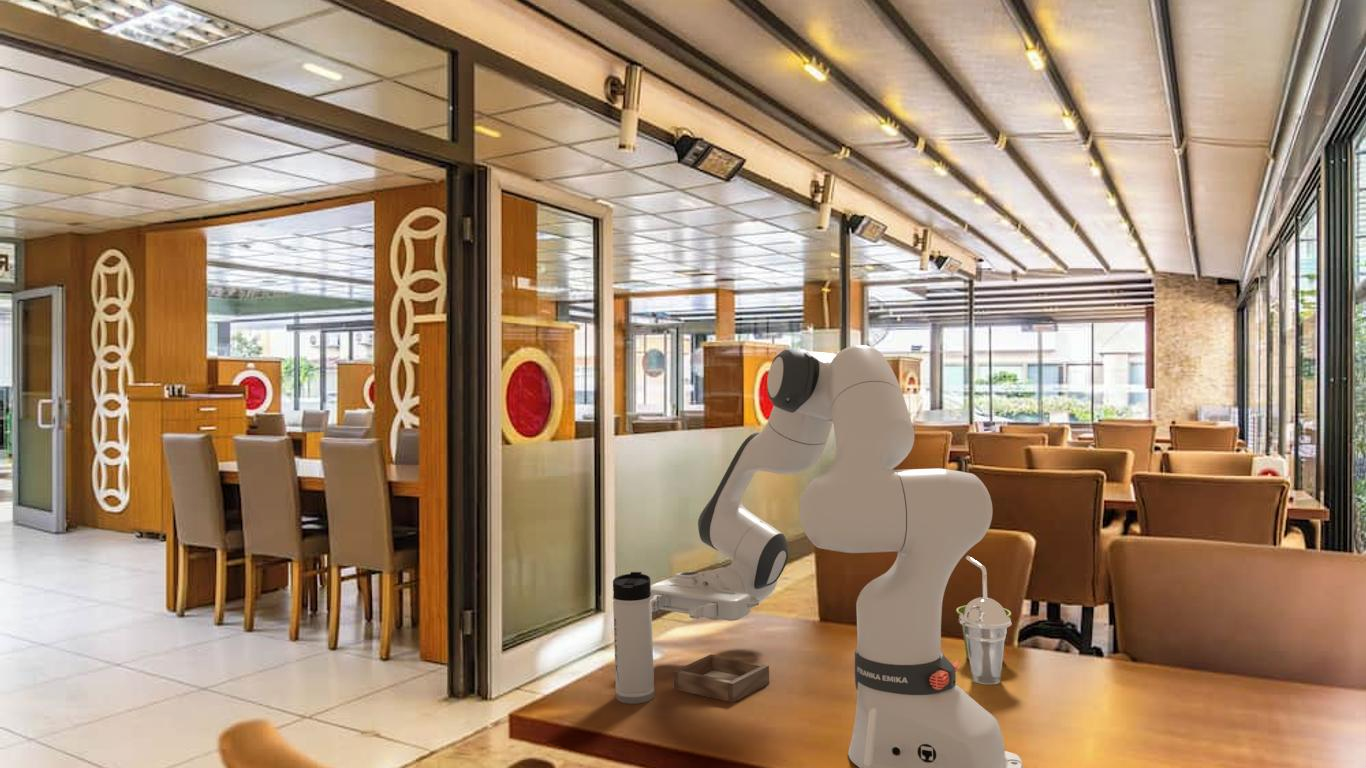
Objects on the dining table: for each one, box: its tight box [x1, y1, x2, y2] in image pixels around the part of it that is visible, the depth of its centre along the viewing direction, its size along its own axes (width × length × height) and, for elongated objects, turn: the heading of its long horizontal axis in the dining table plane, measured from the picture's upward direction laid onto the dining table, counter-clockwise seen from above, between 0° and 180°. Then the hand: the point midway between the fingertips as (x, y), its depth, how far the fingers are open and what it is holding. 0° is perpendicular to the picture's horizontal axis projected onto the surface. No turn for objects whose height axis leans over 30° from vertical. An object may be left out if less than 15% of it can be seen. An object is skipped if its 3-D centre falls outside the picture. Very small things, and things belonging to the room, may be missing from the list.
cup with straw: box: [958, 555, 1013, 685], centre depth 156 cm, size 8×9×20 cm
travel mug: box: [612, 571, 655, 705], centre depth 153 cm, size 6×7×20 cm
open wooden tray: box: [672, 654, 770, 703], centre depth 157 cm, size 12×11×3 cm
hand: (670, 610), depth 161 cm, fingers open, 8 cm apart
